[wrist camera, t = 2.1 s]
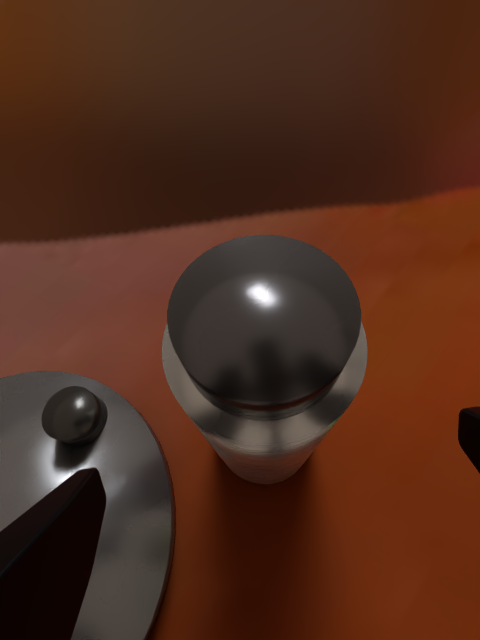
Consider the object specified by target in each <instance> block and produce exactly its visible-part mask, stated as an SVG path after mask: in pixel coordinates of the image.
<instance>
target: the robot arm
mask: <svg viewBox="0 0 480 640" xmlns="http://www.w3.org/2000/svg"><path fill="white" fill-rule="evenodd" d="M458 440H459V444H460V446H461V448H462V449H463V451H464V452H465V454H466V455H467V456H468V458H469V459H470V461H471V462H472V463H473V465H474V466H475V468H476V469H477V470H478V472H479V473H480V407H470V408H464V409H462V410H461V411H460V413H459V426H458ZM105 508H106V493H105V489H104V486H103V483H102V480H101V476H100V473H99V471H98V469H97V468H95V467H92V468H86V469H80V470H78V471H76V472H75V473H74V474H73V475H71V476H70V477H69V478H68V479H66V480H65V481H64V482H62V483H61V484H60V485H59V486H57V487H56V488H55V489H54V490H52V491H51V492H50V493H49V494H47V495H46V496H45V497H43V498H42V499H41V500H40V501H38V502H37V503H36V504H35V505H33V506H32V507H31V508H30V509H28V510H27V511H26V512H24V513H23V514H22V515H21V516H19V517H18V518H17V519H16V520H14V521H13V522H12V523H10V524H9V525H8V526H7V527H5V528H4V529H3V530H2V531H0V640H71V638H72V635H73V631H74V628H75V625H76V622H77V619H78V616H79V612H80V609H81V606H82V603H83V600H84V596H85V593H86V590H87V587H88V583H89V580H90V577H91V573H92V569H93V565H94V561H95V556H96V551H97V546H98V541H99V537H100V532H101V527H102V522H103V518H104V513H105Z"/></svg>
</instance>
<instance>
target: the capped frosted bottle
mask: <svg viewBox="0 0 480 640" xmlns="http://www.w3.org/2000/svg"><path fill="white" fill-rule="evenodd" d="M162 360H163V368H164V372H165V375H166V379H167V382H168V384H169V386H170V389H171V391H172V393H173V394H174V396H175V398H176V399H177V401H178V402H179V404H180V405H181V406H182V408H183V409H184V410H185V412H186V413H187V414H188V416H189V417H190V418H191V419H192V421H193V422H194V423H195V425H196V426H197V427H198V429H199V430H200V431H201V433H202V434H203V435H204V436H205V438H206V439H207V440H208V442H209V443H210V444H211V446H212V447H213V448H214V449H215V451H216V452H217V453H218V455H219V456H220V457H221V459H222V460H223V461H224V462H225V464H226V465H227V466H228V467H229V469H230V470H231V471H233V472H234V473H235V474H236V475H237V476H239V477H240V478H242V479H244V480H246V481H249V482H252V483H256V484H274V483H278V482H281V481H283V480H286V479H287V478H289V477H291V476H292V475H293V474H294V473H296V472H297V471H298V470H299V469H300V467H301V466H302V465H303V464H304V462H305V461H306V460H307V459H308V457H309V456H310V455H311V454H312V452H313V451H314V450H315V448H316V447H317V446H318V445H319V443H320V442H321V441H322V440H323V438H324V437H325V436H326V434H327V433H328V432H329V431H330V429H331V428H332V427H333V426H334V424H335V423H336V422H337V420H338V419H339V418H340V417H341V415H342V414H343V413H344V412H345V410H346V409H347V408H348V406H349V405H350V403H351V402H352V400H353V399H354V398H355V396H356V394H357V392H358V390H359V388H360V386H361V384H362V381H363V377H364V374H365V371H366V363H367V342H366V335H365V331H364V328H363V325H362V322H361V309H360V303H359V299H358V296H357V293H356V290H355V288H354V286H353V284H352V282H351V280H350V279H349V277H348V276H347V274H346V273H345V271H344V270H343V269H342V268H341V267H340V266H339V264H338V263H336V262H335V261H334V260H333V259H332V258H331V257H330V256H328V255H327V254H325V253H324V252H322V251H321V250H319V249H317V248H315V247H314V246H312V245H309V244H307V243H305V242H302V241H299V240H296V239H292V238H288V237H283V236H275V235H254V236H246V237H241V238H236V239H233V240H230V241H227V242H224V243H222V244H220V245H217V246H215V247H213V248H212V249H210V250H208V251H206V252H205V253H203V254H202V255H201V256H199V257H198V258H197V259H196V260H195V261H193V262H192V263H191V264H190V265H189V266H188V267H187V269H186V270H185V271H184V272H183V273H182V275H181V276H180V278H179V279H178V281H177V283H176V285H175V287H174V289H173V291H172V294H171V297H170V300H169V305H168V311H167V325H166V328H165V331H164V337H163V343H162Z"/></svg>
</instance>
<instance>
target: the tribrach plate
mask: <svg viewBox="0 0 480 640" xmlns="http://www.w3.org/2000/svg"><path fill="white" fill-rule="evenodd" d="M92 467H95V468H97V469H98V471H99V473H100V476H101V480H102V483H103V486H104V489H105V493H106V508H105V513H104V518H103V522H102V527H101V532H100V537H99V541H98V546H97V551H96V556H95V561H94V565H93V569H92V573H91V577H90V580H89V583H88V587H87V590H86V593H85V596H84V600H83V603H82V606H81V609H80V612H79V616H78V619H77V622H76V625H75V628H74V631H73V635H72V638H71V640H147V639H148V636H149V634H150V632H151V630H152V627H153V625H154V623H155V621H156V618H157V615H158V612H159V609H160V606H161V603H162V600H163V597H164V594H165V591H166V588H167V583H168V578H169V574H170V569H171V565H172V560H173V551H174V542H175V533H176V507H175V498H174V490H173V483H172V478H171V474H170V470H169V466H168V462H167V460H166V457H165V455H164V452H163V449H162V447H161V444H160V442H159V441H158V439H157V437H156V435H155V433H154V432H153V430H152V428H151V427H150V425H149V424H148V423H147V421H146V420H145V419H144V418H143V416H142V415H141V414H140V413H139V412H138V411H137V410H136V409H135V408H134V407H133V406H132V405H131V404H130V403H129V402H128V401H127V400H125V399H124V398H123V397H122V396H120V395H119V394H117V393H116V392H115V391H113V390H112V389H110V388H109V387H107V386H105V385H103V384H101V383H99V382H97V381H95V380H93V379H90V378H87V377H83V376H80V375H77V374H72V373H65V372H58V371H38V372H29V373H21V374H16V375H12V376H8V377H3V378H0V531H2V530H3V529H4V528H5V527H7V526H8V525H9V524H10V523H12V522H13V521H14V520H16V519H17V518H18V517H19V516H21V515H22V514H23V513H24V512H26V511H27V510H28V509H30V508H31V507H32V506H33V505H35V504H36V503H37V502H38V501H40V500H41V499H42V498H43V497H45V496H46V495H47V494H49V493H50V492H51V491H52V490H54V489H55V488H56V487H57V486H59V485H60V484H61V483H62V482H64V481H65V480H66V479H68V478H69V477H70V476H71V475H73V474H74V473H75V472H76V471H78V470H80V469H86V468H92Z"/></svg>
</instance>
